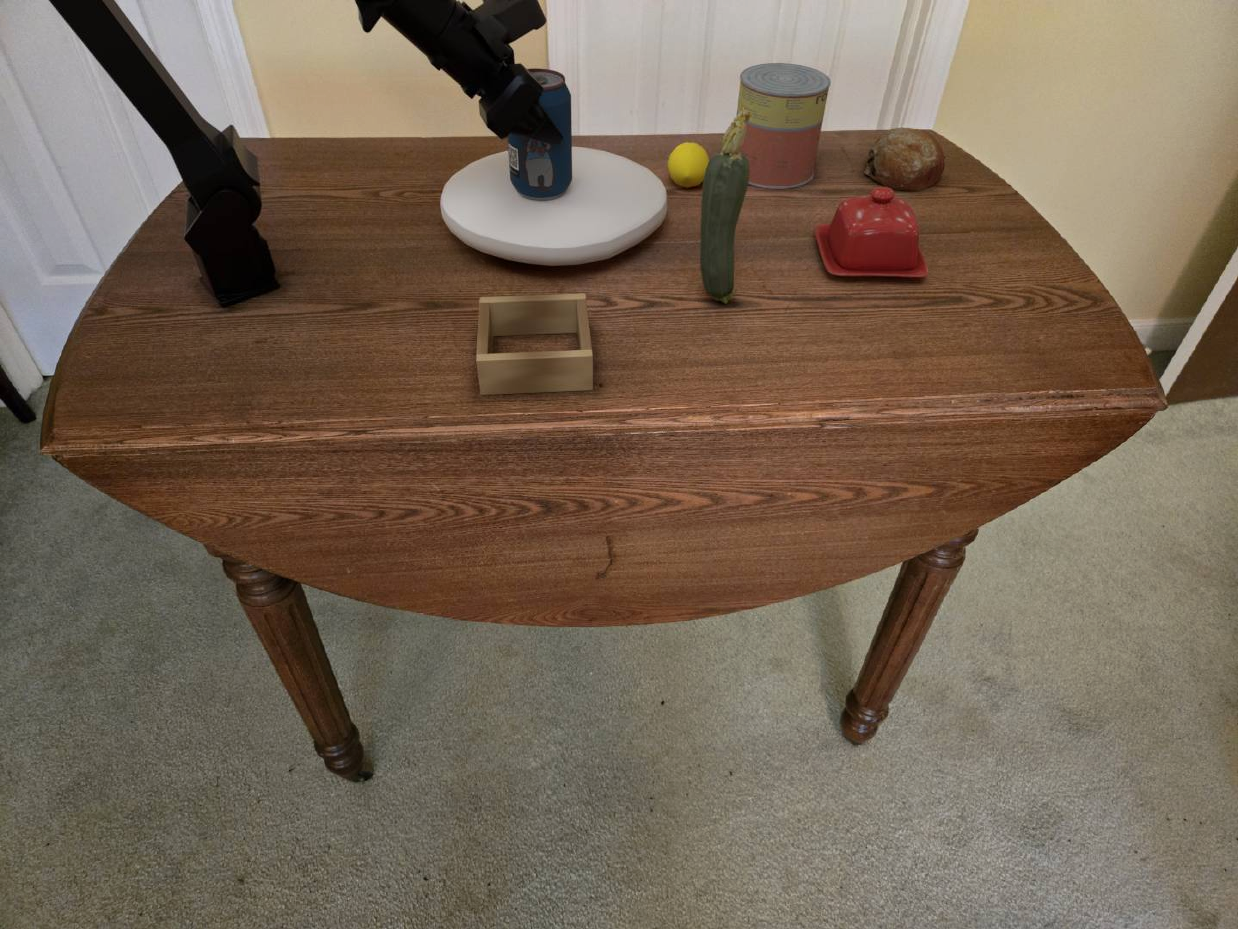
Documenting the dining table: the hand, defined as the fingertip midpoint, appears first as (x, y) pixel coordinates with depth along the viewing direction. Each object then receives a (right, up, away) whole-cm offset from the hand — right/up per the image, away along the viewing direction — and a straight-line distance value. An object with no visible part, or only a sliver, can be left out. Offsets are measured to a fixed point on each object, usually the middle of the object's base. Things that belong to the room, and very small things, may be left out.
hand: (551, 128), depth 88 cm
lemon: (+16, 0, +19) cm, 25 cm away
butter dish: (+36, -13, +6) cm, 39 cm away
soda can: (-1, -5, +4) cm, 7 cm away
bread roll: (+46, +3, +23) cm, 51 cm away
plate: (0, -7, +11) cm, 13 cm away
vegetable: (+17, -19, -1) cm, 26 cm away
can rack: (-1, -26, -9) cm, 28 cm away
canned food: (+28, +4, +23) cm, 36 cm away
